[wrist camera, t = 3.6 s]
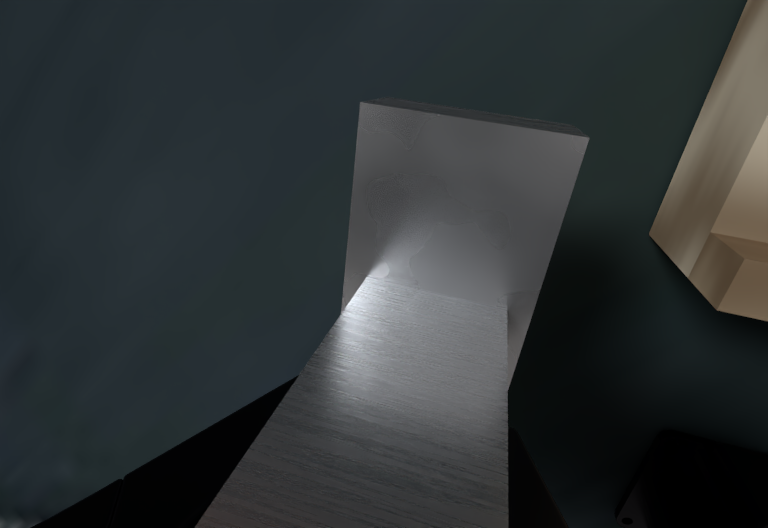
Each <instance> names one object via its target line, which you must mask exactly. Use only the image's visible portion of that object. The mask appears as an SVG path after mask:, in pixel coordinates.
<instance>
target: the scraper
mask: <svg viewBox="0 0 768 528" xmlns="http://www.w3.org/2000/svg"><path fill="white" fill-rule="evenodd" d="M588 141H589V137H588V136H587V135H585V134H584V133H583V132H581V131H580V130H579V129H577V128H576V127H575V126H573V125H569V124H562V123H556V122H549V121H543V120H536V119H529V118H523V117H516V116H510V115H503V114H496V113H490V112H483V111H477V110H470V109H463V108H457V107H450V106H444V105H437V104H430V103H424V102H417V101H411V100H404V99H397V98H391V97H385V98H379V99H374V100H369V101H364V102H360V112H359V123H358V134H357V145H356V156H355V167H354V178H353V189H352V200H351V211H350V222H349V233H348V244H347V255H346V266H345V277H344V288H343V299H342V310H341V315H340V317H339V318H338V319H337V321H336V322H335V324H334V325H333V327H332V328H331V330H330V331H329V333H328V334H327V335H326V337H325V338H324V340H323V341H322V343H321V344H320V346H319V347H318V349H317V350H316V351H315V353H314V354H313V356H312V357H311V359H310V360H309V362H308V363H307V365H306V366H305V368H304V369H303V370H302V372H301V373H300V375H299V376H298V378H297V379H296V381H295V382H294V384H293V385H292V386H291V388H290V389H289V391H288V392H287V394H286V395H285V397H284V398H283V400H282V401H281V402H280V404H279V405H278V407H277V408H276V410H275V411H274V413H273V414H272V416H271V417H270V418H269V420H268V421H267V423H266V424H265V426H264V427H263V429H262V430H261V432H260V433H259V434H258V436H257V437H256V439H255V440H254V442H253V443H252V445H251V446H250V448H249V449H248V450H247V452H246V453H245V455H244V456H243V458H242V459H241V461H240V462H239V464H238V465H237V467H236V468H235V469H234V471H233V472H232V474H231V475H230V477H229V478H228V480H227V481H226V483H225V484H224V485H223V487H222V488H221V490H220V491H219V493H218V494H217V496H216V497H215V499H214V500H213V501H212V503H211V504H210V506H209V507H208V509H207V510H206V512H205V513H204V515H203V516H202V517H201V519H200V520H199V522H198V523H197V525H196V526H195V528H508V389H509V386H510V383H511V380H512V376H513V373H514V370H515V367H516V364H517V361H518V358H519V355H520V352H521V349H522V346H523V342H524V339H525V336H526V333H527V330H528V327H529V324H530V321H531V318H532V315H533V311H534V308H535V305H536V302H537V299H538V296H539V293H540V290H541V287H542V284H543V280H544V277H545V274H546V271H547V268H548V265H549V262H550V259H551V256H552V253H553V249H554V246H555V243H556V240H557V237H558V234H559V231H560V228H561V225H562V222H563V218H564V215H565V212H566V209H567V206H568V203H569V200H570V197H571V194H572V191H573V187H574V184H575V181H576V178H577V175H578V172H579V169H580V166H581V163H582V160H583V157H584V153H585V150H586V147H587V144H588Z"/></svg>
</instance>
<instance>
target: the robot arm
mask: <svg viewBox="0 0 768 528" xmlns="http://www.w3.org/2000/svg"><path fill="white" fill-rule="evenodd" d="M298 376H299V375H298ZM298 376H296V377H295V378H293V379H291V380H289V381H288V382H286V383H284V384H283V385H281V386H279V387H277V388H276V389H274V390H272V391H270V392H269V393H267V394H265V395H264V396H262V397H260V398H258V399H257V400H255V401H253V402H251V403H250V404H248V405H246V406H244V407H243V408H241V409H239V410H238V411H236V412H234V413H232V414H231V415H229V416H227V417H225V418H224V419H222V420H220V421H219V422H217V423H215V424H213V425H212V426H210V427H208V428H206V429H205V430H203V431H201V432H200V433H198V434H196V435H194V436H193V437H191V438H189V439H187V440H186V441H184V442H182V443H181V444H179V445H177V446H175V447H174V448H172V449H170V450H168V451H167V452H165V453H163V454H162V455H160V456H158V457H156V458H155V459H153V460H151V461H149V462H148V463H146V464H144V465H143V466H141V467H139V468H137V469H136V470H134V471H132V472H130V473H129V474H127V475H126V476H125V477H124V479H123V480H122V479H118V480H116V481H114V482H113V483H111V484H109V485H108V486H106V487H104V488H102V489H101V490H99V491H97V492H95V493H94V494H92V495H90V496H88V497H87V498H85V499H83V500H81V501H79V502H78V503H76V504H74V505H72V506H70V507H68V508H67V509H65V510H63V511H61V512H59V513H58V514H56V515H54V516H52V517H50V518H49V519H47V520H45V521H43V522H41V523H39V524H37V525H35V526H33V527H31V528H195V526H196V525H197V523H198V522H199V520H200V519H201V517H202V516H203V515H204V513H205V512H206V510H207V509H208V507H209V506H210V504H211V503H212V501H213V500H214V499H215V497H216V496H217V494H218V493H219V491H220V490H221V488H222V487H223V485H224V484H225V483H226V481H227V480H228V478H229V477H230V475H231V474H232V472H233V471H234V469H235V468H236V467H237V465H238V464H239V462H240V461H241V459H242V458H243V456H244V455H245V453H246V452H247V450H248V449H249V448H250V446H251V445H252V443H253V442H254V440H255V439H256V437H257V436H258V434H259V433H260V432H261V430H262V429H263V427H264V426H265V424H266V423H267V421H268V420H269V418H270V417H271V416H272V414H273V413H274V411H275V410H276V408H277V407H278V405H279V404H280V402H281V401H282V400H283V398H284V397H285V395H286V394H287V392H288V391H289V389H290V388H291V386H292V385H293V384H294V382H295V381H296V379H297V378H298ZM670 440H674V441H673V442H667V441H670ZM615 517H616V521H617V523H618V524H619V525H620V526H622V527H624V528H768V455H766V454H762V453H758V452H754V451H751V450H747V449H743V448H739V447H736V446H732V445H728V444H724V443H720V442H716V441H712V440H709V439H705V438H701V437H697V436H694V435H690V434H686V433H682V432H679V431H675V430H663V431H661V432H659V434H658V435H657V436H656V438H655V440H654V442H653V443H652V445H651V447H650V449H649V451H648V452H647V454H646V456H645V458H644V460H643V461H642V463H641V465H640V467H639V469H638V470H637V472H636V474H635V476H634V478H633V479H632V481H631V483H630V485H629V487H628V488H627V490H626V492H625V494H624V496H623V497H622V499H621V501H620V503H619V505H618V506H617V508H616V510H615ZM508 528H569V527H568V525H567V523H566V522H565V520H564V518H563V516H562V514H561V512H560V510H559V508H558V507H557V505H556V503H555V501H554V499H553V497H552V495H551V494H550V492H549V490H548V488H547V486H546V484H545V482H544V481H543V479H542V477H541V475H540V473H539V471H538V469H537V468H536V466H535V464H534V462H533V460H532V458H531V456H530V454H529V453H528V451H527V449H526V447H525V445H524V443H523V441H522V440H521V438H520V436H519V434H518V432H517V431H516V430H515V429H514V428H511V427H508Z"/></svg>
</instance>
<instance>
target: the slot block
mask: <svg viewBox="0 0 768 528" xmlns="http://www.w3.org/2000/svg"><path fill="white" fill-rule="evenodd" d="M649 235H650V236H651V237H652V239H653V240H654V241H655V242H656V243H657V244H658V245H659V246H660V248H661V249H662V250H663V251H664V252H665V253H666V254H667V255H668V257H669V258H670V259H671V260H672V261H673V262H674V263H675V264H676V265H677V267H678V268H679V269H680V270H681V271H682V272H683V273H684V274H685V276H686V277H687V278H688V279H689V280H690V281H691V282H692V283H693V284H694V286H695V287H696V288H697V289H698V290H699V291H700V292H701V293H702V295H703V296H704V297H705V298H706V299H707V300H708V301H709V302H710V303H711V305H712V306H713V307H714V308H715V309H716V310H717V311H722V312H727V313H731V314H736V315H741V316H745V317H750V318H755V319H759V320H764V321H768V0H748V1H747V3H746V6H745V8H744V10H743V13H742V15H741V17H740V20H739V22H738V25H737V27H736V29H735V32H734V34H733V36H732V39H731V41H730V43H729V46H728V48H727V50H726V53H725V55H724V58H723V60H722V62H721V65H720V67H719V69H718V72H717V74H716V76H715V79H714V81H713V84H712V86H711V88H710V91H709V93H708V95H707V98H706V100H705V102H704V105H703V107H702V110H701V112H700V114H699V117H698V119H697V121H696V124H695V126H694V128H693V131H692V133H691V136H690V138H689V140H688V143H687V145H686V147H685V150H684V152H683V154H682V157H681V159H680V162H679V164H678V166H677V169H676V171H675V173H674V176H673V178H672V180H671V183H670V185H669V188H668V190H667V192H666V195H665V197H664V199H663V202H662V204H661V206H660V209H659V211H658V214H657V216H656V218H655V221H654V223H653V225H652V228H651V230H650V232H649Z"/></svg>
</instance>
